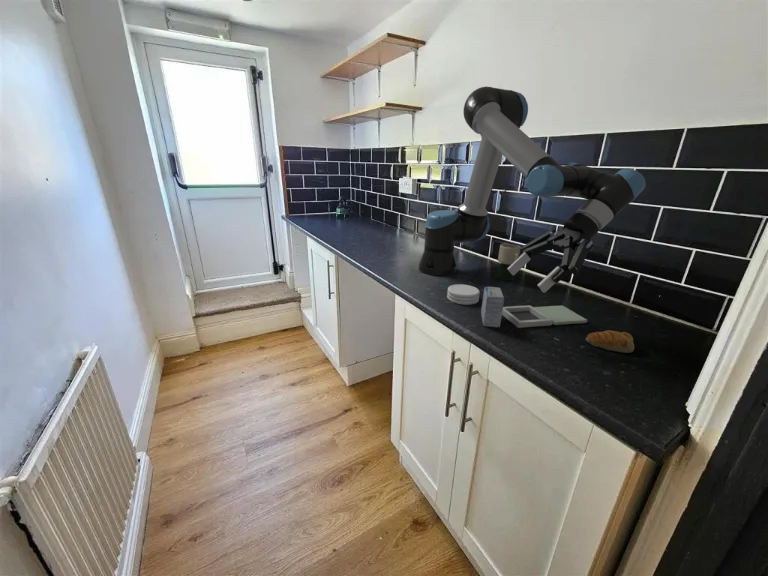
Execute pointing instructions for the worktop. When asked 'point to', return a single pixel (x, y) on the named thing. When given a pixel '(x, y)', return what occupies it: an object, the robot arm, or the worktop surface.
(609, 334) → the pastry
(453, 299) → the coaster
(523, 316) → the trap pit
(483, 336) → the worktop surface
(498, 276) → the character mug
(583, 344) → the worktop surface
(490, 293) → the medicine box
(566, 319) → the pad
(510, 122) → the robot arm
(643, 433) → the worktop surface
